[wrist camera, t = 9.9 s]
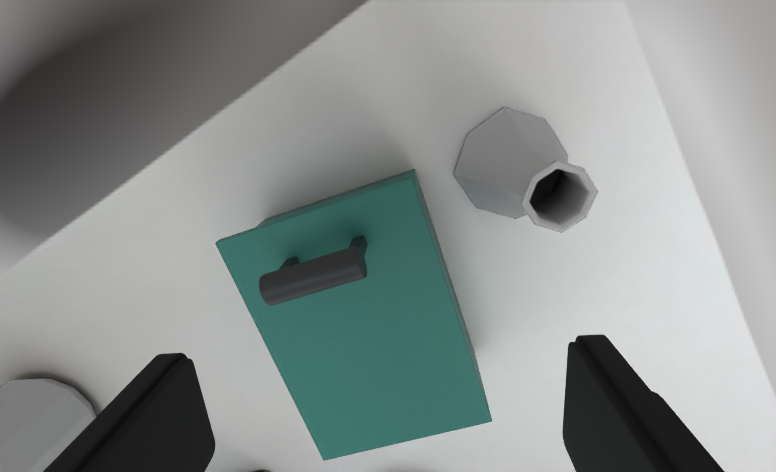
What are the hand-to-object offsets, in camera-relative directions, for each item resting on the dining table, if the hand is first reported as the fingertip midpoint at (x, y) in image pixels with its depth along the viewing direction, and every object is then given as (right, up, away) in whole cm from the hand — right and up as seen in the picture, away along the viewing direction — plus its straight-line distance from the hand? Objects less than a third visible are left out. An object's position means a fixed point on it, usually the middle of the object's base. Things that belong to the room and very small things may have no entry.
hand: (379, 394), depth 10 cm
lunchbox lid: (-1, -2, +15) cm, 15 cm away
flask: (+9, +9, +18) cm, 22 cm away
